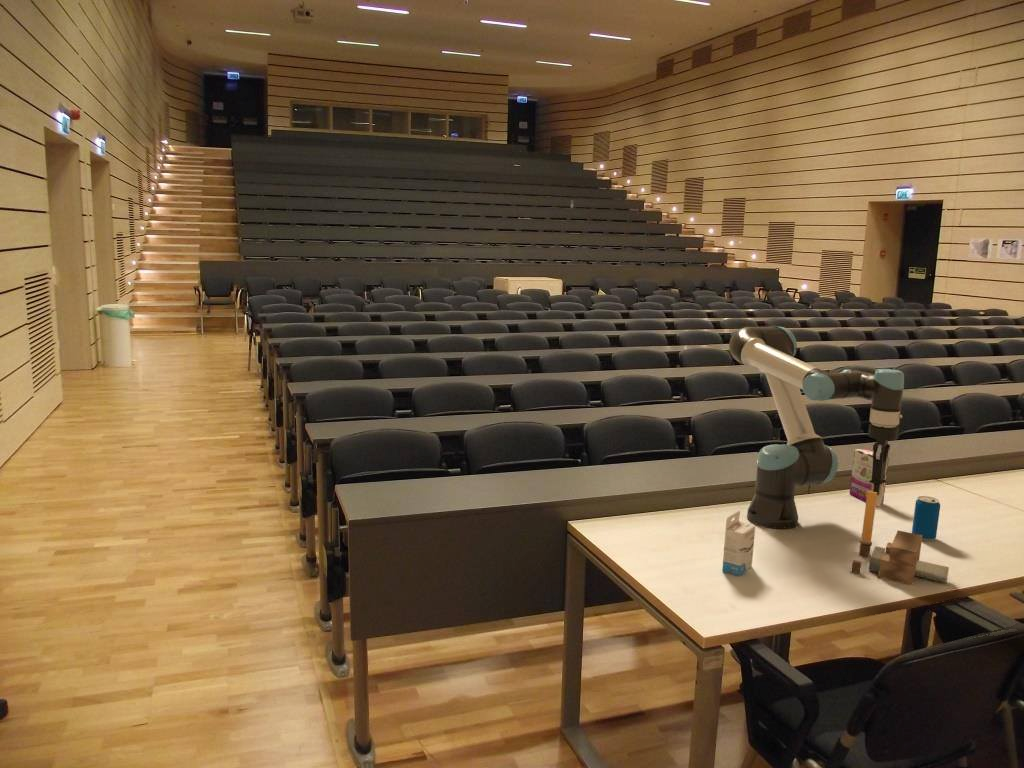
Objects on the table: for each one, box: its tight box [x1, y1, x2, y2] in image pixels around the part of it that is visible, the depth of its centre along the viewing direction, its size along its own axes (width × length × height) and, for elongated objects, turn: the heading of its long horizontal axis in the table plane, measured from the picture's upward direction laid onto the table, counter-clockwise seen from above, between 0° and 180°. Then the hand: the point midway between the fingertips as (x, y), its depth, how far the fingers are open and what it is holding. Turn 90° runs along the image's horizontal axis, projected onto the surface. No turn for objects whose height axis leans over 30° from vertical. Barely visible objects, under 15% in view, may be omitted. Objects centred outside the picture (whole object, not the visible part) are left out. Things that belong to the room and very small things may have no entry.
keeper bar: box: [859, 491, 877, 547], centre depth 216 cm, size 3×15×1 cm
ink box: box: [721, 510, 756, 577], centre depth 204 cm, size 9×5×15 cm, turn 141°
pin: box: [868, 545, 950, 583], centre depth 205 cm, size 18×9×4 cm, turn 57°
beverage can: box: [911, 495, 941, 542], centre depth 230 cm, size 6×6×12 cm
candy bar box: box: [849, 448, 890, 505], centre depth 264 cm, size 11×5×16 cm, turn 17°
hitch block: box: [850, 530, 923, 586], centre depth 208 cm, size 15×16×9 cm
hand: (875, 504), depth 222 cm, fingers closed
